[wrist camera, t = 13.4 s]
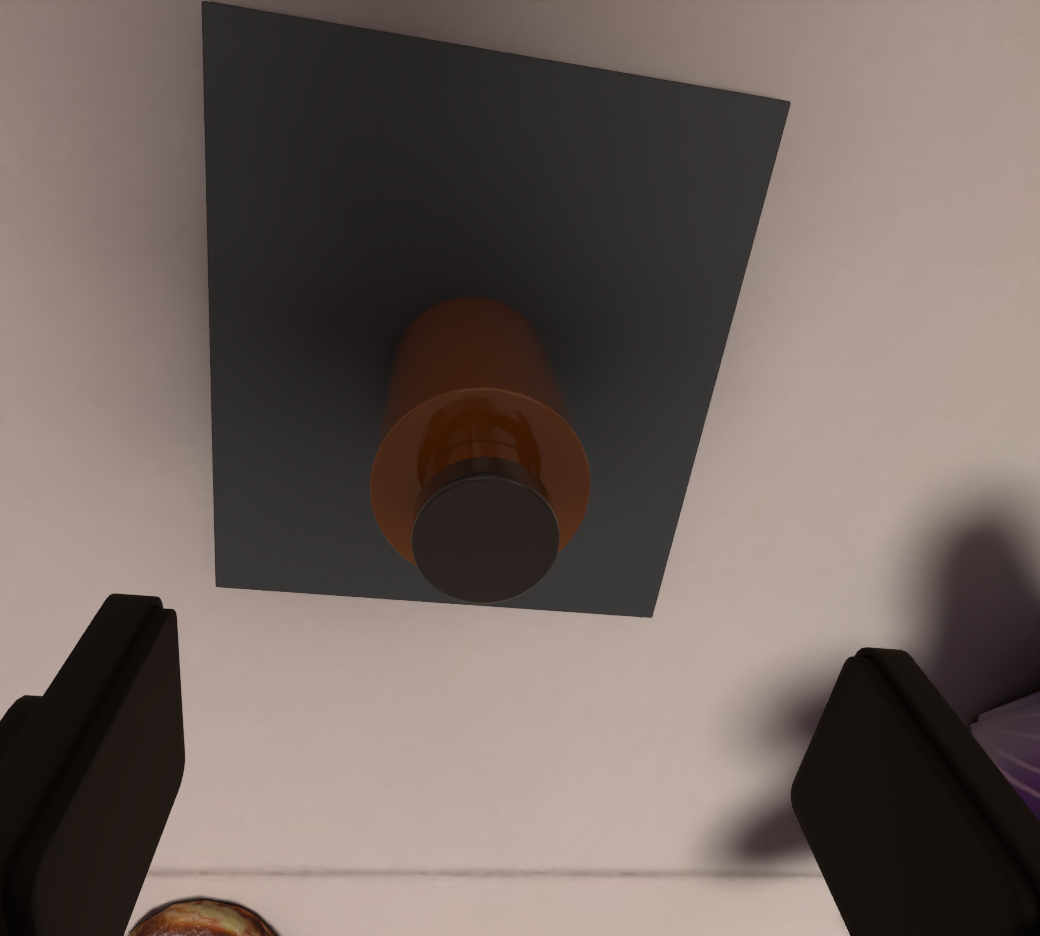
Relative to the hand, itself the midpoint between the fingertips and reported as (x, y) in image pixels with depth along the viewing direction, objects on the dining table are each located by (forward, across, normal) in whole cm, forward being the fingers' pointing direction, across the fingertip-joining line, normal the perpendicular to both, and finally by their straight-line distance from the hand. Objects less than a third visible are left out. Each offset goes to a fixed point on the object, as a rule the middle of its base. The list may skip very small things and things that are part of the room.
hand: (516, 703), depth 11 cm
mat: (+16, 0, +1) cm, 16 cm away
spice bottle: (+15, 0, +1) cm, 15 cm away
